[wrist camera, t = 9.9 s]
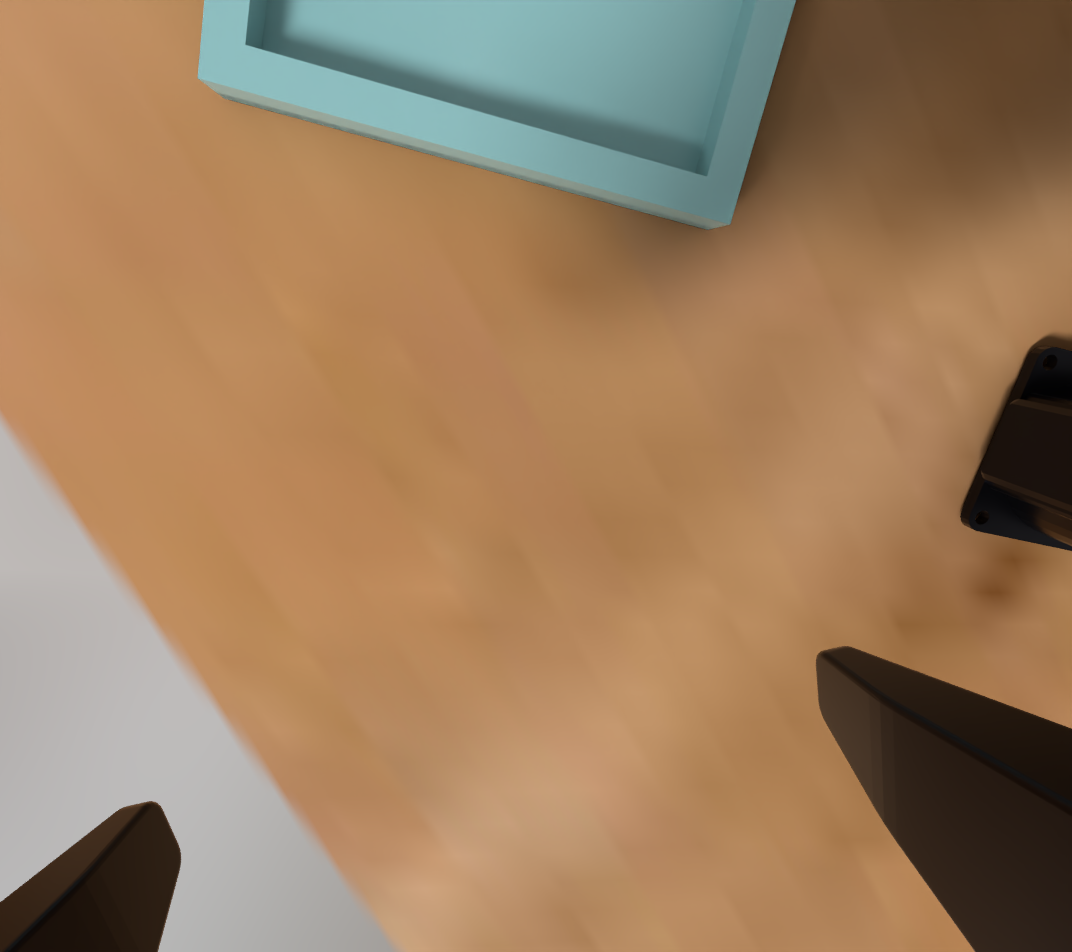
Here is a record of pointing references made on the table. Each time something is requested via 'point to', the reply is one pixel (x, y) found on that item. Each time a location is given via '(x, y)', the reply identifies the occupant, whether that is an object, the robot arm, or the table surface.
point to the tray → (523, 86)
